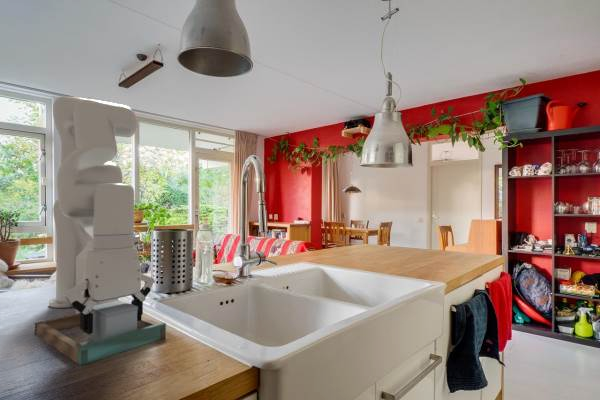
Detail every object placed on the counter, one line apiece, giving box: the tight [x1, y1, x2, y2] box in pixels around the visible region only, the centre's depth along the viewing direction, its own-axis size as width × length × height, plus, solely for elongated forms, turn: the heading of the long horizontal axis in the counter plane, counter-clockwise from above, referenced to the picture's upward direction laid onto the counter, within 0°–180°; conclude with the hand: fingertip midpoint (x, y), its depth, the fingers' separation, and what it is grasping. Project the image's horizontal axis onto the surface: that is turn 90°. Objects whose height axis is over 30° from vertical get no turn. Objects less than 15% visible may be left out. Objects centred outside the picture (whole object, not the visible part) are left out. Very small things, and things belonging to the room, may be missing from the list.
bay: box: [34, 313, 167, 366], centre depth 75 cm, size 25×16×3 cm, turn 53°
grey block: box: [87, 299, 138, 343], centre depth 71 cm, size 8×6×7 cm
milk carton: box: [75, 241, 119, 314], centre depth 93 cm, size 7×7×19 cm
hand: (113, 325), depth 71 cm, fingers open, 9 cm apart
